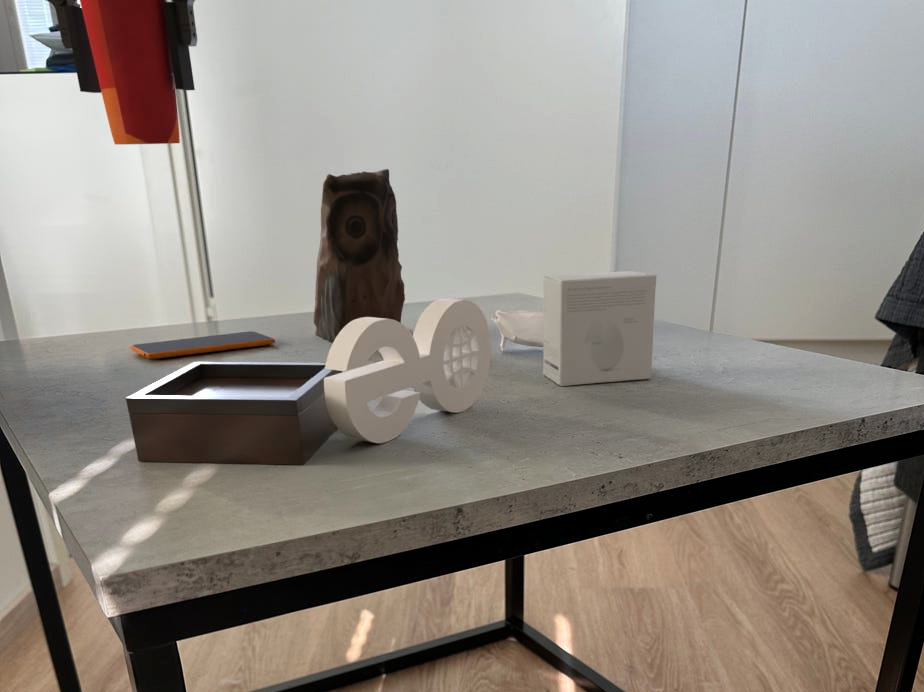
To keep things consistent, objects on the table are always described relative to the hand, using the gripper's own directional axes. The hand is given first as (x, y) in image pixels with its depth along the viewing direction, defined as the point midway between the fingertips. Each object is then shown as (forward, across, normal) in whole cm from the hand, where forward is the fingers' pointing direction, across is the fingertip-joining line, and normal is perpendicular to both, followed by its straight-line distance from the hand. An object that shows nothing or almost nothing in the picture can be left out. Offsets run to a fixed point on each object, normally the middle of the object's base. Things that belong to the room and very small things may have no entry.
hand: (138, 90), depth 85 cm
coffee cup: (+5, 0, 0) cm, 5 cm away
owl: (+28, -12, -31) cm, 43 cm away
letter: (+28, -27, +12) cm, 40 cm away
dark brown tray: (+27, -13, +18) cm, 35 cm away
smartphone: (+27, +7, -22) cm, 36 cm away
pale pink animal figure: (+28, -36, -22) cm, 51 cm away
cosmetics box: (+28, -43, -8) cm, 52 cm away
